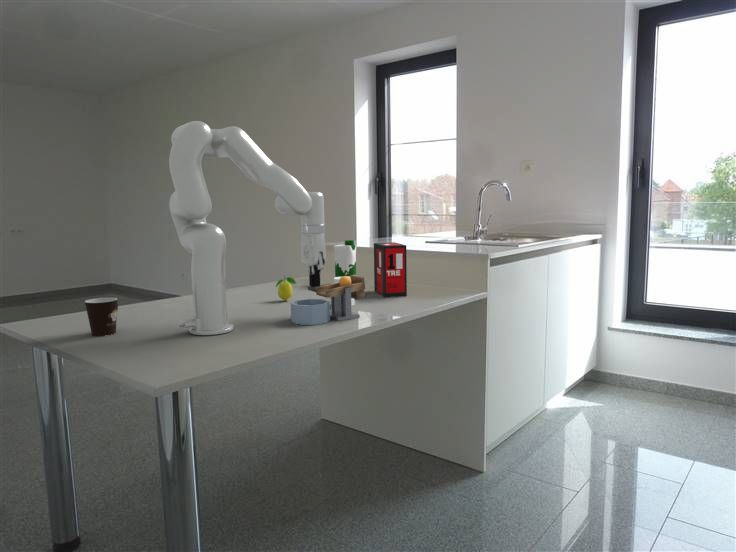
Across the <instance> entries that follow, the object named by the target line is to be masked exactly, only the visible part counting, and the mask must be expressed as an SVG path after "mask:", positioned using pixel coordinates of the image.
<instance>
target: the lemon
mask: <svg viewBox="0 0 736 552" xmlns="http://www.w3.org/2000/svg"><path fill="white" fill-rule="evenodd" d="M283 276H284V278H283V279H280V280H278V281H277V283H276V285H275V288H277V287H278V288H277V294H278V295H277V296H278V297H279V299H282V300H284V301H285V302H287V300H289V299H291V298H292V296H293V293H294V292H293V287H292V285H296V284H297V282H296V280H295V279H294V278H293V277H286V276H285V275H283ZM291 284H292V285H291Z"/></svg>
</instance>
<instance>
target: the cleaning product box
mask: <svg viewBox="0 0 736 552" xmlns="http://www.w3.org/2000/svg"><path fill="white" fill-rule="evenodd" d="M407 268H408V267H407V245H406V244H403V243H398V242H394V241H393V242H375V243H373V270H374V271H373V272H374V273H373V274H374V275H373V279H374V280H373V281H374V282H373V283H374V285H373V286H374V292H375V293H377V294H379V295H380V296H381V297H383V298H398V297H399V298H400V297H401V298H402V297H403V298H405V297H407V296H408V292H407V290H408V289H407V288H408V287H407V283H408V282H407V279H408V278H407V270H408V269H407Z"/></svg>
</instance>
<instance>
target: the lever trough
mask: <svg viewBox="0 0 736 552" xmlns="http://www.w3.org/2000/svg"><path fill="white" fill-rule="evenodd" d="M350 278H351V285H347V286H343V287H341V286H340V284H339V283H335V284H334V283H331V284H326V285H320V286H314V287H312V286H310V285H308V286H306V287H307V290H308V291H311V292H314V293H316V296H320V297H322V298H323V297H324V298H325V299H326V298H327V299H328V298H331V297H333V296H338V295H342V294H344V288H351V298H354V299H355V300H361V299H364V298H365V299H366V297H365V296H366V294H365V290H366V282H365V277H363V276H358V275H356V276H354V275H350Z"/></svg>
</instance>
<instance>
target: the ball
mask: <svg viewBox="0 0 736 552" xmlns="http://www.w3.org/2000/svg"><path fill="white" fill-rule="evenodd" d="M339 284H340V286H341V287H343V286H347V285H351V279H350V278H349V277H347V276H343V277H341V278H340V280H339Z"/></svg>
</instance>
